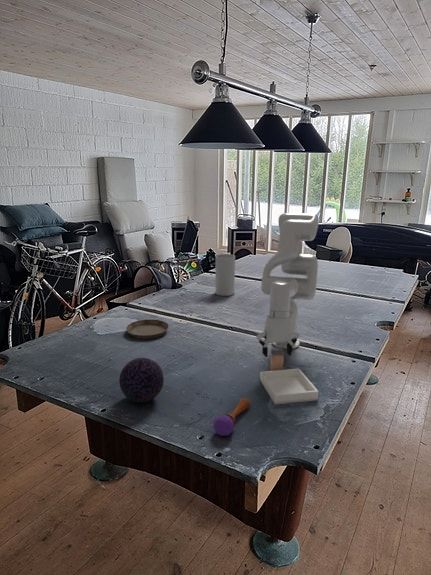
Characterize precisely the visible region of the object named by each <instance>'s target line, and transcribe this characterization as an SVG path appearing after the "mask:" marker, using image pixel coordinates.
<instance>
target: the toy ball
mask: <svg viewBox="0 0 431 575" xmlns="http://www.w3.org/2000/svg"><path fill="white" fill-rule="evenodd" d="M164 380H165V378H164V372H163V370H162V368H161V366H160V365H159V364H158V363H157V362H156V361H155V360H152V359H151V358H147V357H138V358H134V359H131V360H130V361H129V362H127V363H126V364H125V365H124V367H123V368H122V369H121V372H120V375H119V381H118V382H119V388H120V390H121V393H123V395H124V396H125V397H126V398H127V399H128V400H130V401H132V402H134V403H146V402H150V401H152V400H153V399H155V398H157V396H158V395H159V394H160V393H161V391H162V389H163V386H164Z"/></svg>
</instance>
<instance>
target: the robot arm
mask: <svg viewBox="0 0 431 575" xmlns="http://www.w3.org/2000/svg"><path fill="white" fill-rule="evenodd" d="M277 221H278V223H277V224H278V229H279V236H278V242H277V251H276V253H275V254H273V255H272V257H271V258H270V259H268V260H267V262H266V264H265V265H264V267H263V272H262V278H261V282H260V283H261V285H260V288H261V291H262V293H263V294H265V295H267V296H269V312H268V313H269V315H267V316H266V319H265V324H264V330H263V331H261V332H260V333H259V334H257V335H256V340H257V341H258V343H259V344H260V345H261V346H262V351H261V353H262V355H263V356H264V357H265V358H268V352H269V351H268V346H269V344H270V343H271V345H273V346H274V348H275V347H278V348H282V349H284V350H286V354H287V355H288V356H292V353H293V350H294V349H296V348H298V347H299V346H300V341H299V337H300V333H299V332H297V331H298V318H299V317H298V316H299V306H298V304H297V303H296V301H295V300H299V301H313V300H314V299H315V297H316V293H317V281H318V269H319V268H318V267H319V265H318V264H319V263H318V258H317V256H315V255H314V254H306V253H303V241H307V242H309V241H310V242H312V241H313V240H314V239H315V238H316V236H317V232H318V229H319V223H320V222H319V216H318V215H317V214H316V213H307V212H306V213H305V212H304V213H303V212H284V213H281V214H280V215H279V217H278V220H277ZM280 265H281V267H280V269H281V272H283V274H285V275H290V276H273V275H271V274H272V272H273V271H274V269H276V268H277V267H278V266H280ZM291 275H292V276H305V277H306V278H301V277H292V276H291ZM262 338H264V340H262Z"/></svg>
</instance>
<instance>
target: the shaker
mask: <svg viewBox="0 0 431 575" xmlns="http://www.w3.org/2000/svg"><path fill="white" fill-rule="evenodd" d="M284 356H285V349H282V348H278V347H275V346H274V347H272V348H271V349H270V365H269V367H270V369H269V371H275V370H284Z"/></svg>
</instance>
